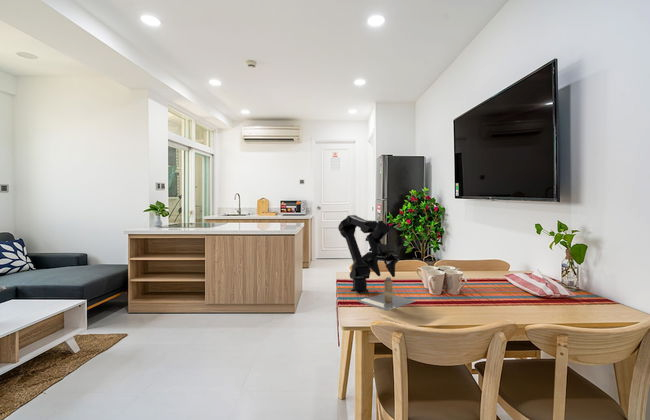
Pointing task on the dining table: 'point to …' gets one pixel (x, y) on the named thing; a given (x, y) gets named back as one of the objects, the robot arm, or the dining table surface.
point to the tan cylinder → (388, 293)
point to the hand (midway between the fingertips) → (386, 276)
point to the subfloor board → (379, 301)
